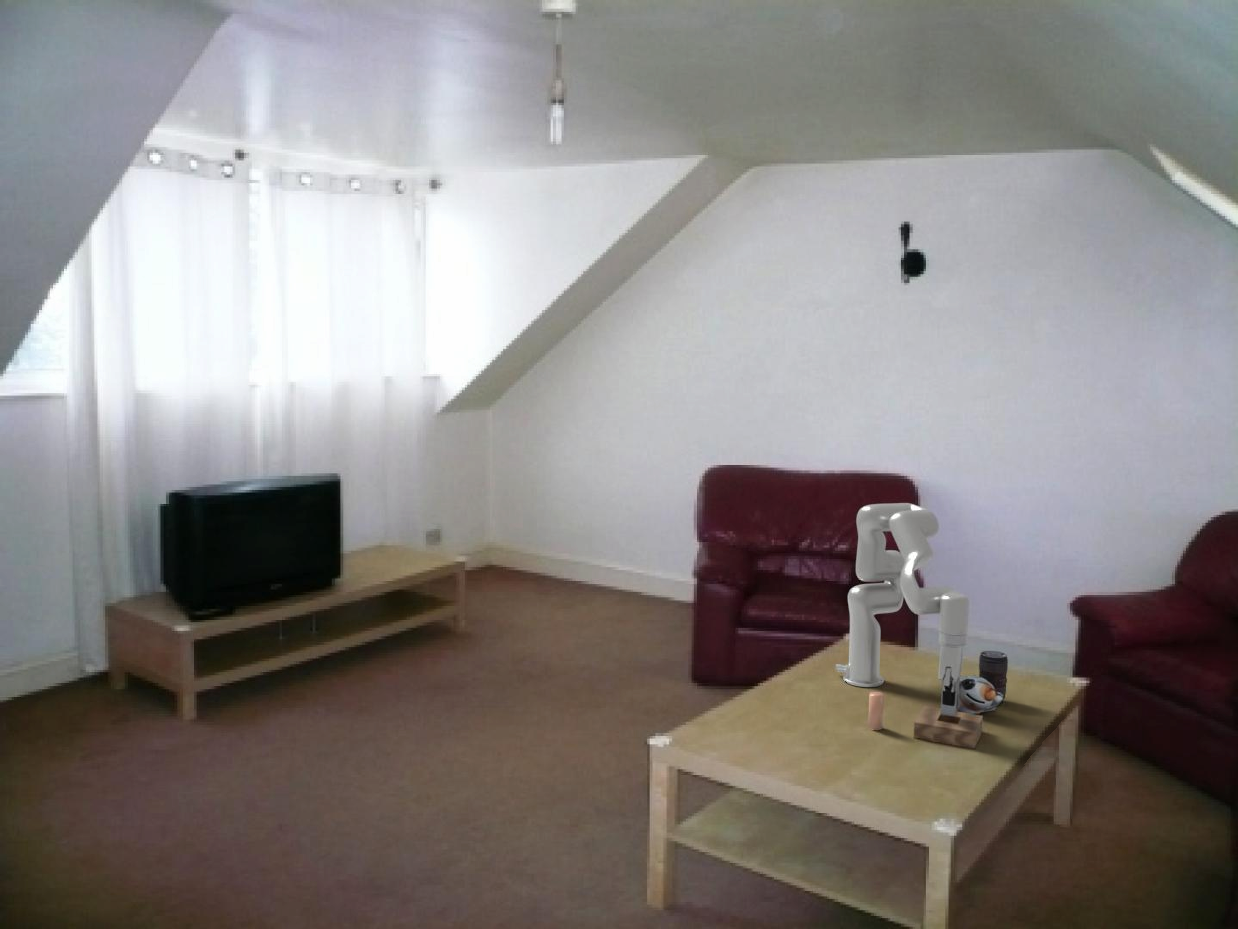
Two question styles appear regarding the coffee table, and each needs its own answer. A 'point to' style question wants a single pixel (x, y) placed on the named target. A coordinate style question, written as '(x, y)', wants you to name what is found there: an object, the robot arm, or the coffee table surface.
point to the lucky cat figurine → (977, 695)
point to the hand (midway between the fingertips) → (949, 701)
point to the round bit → (876, 710)
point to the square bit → (954, 709)
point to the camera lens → (994, 670)
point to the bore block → (948, 727)
